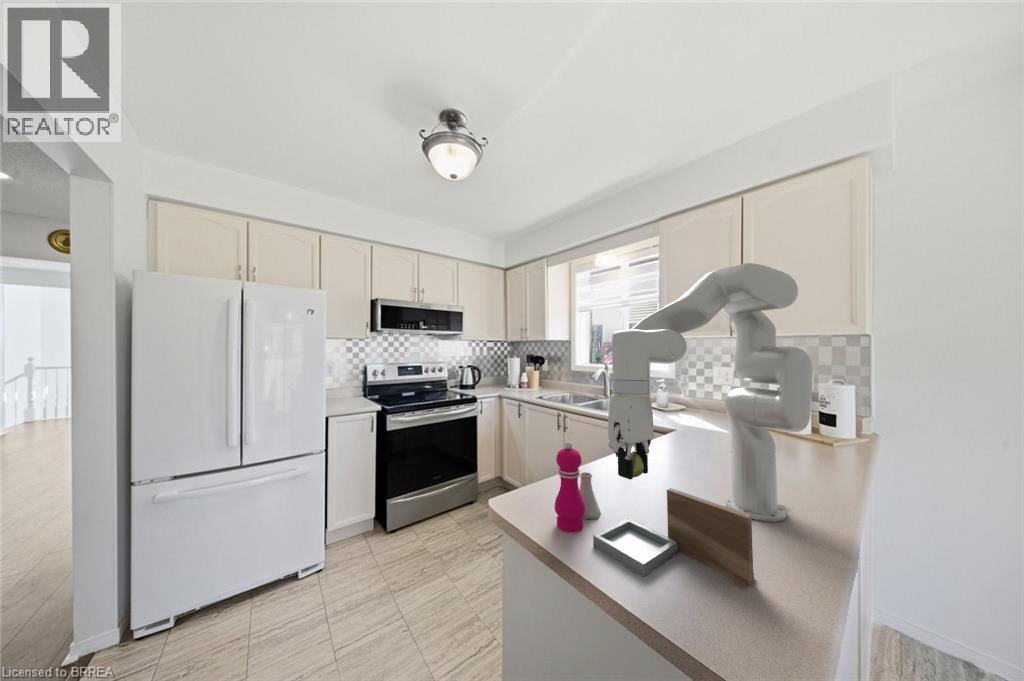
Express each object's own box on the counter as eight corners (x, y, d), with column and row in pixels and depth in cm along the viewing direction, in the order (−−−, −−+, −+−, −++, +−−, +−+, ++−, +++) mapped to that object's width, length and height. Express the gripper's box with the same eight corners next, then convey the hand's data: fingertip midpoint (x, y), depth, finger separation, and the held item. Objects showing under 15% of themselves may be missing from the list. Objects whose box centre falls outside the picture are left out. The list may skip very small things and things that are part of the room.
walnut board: (676, 541, 73) (675, 486, 73) (757, 579, 60) (755, 512, 61) (663, 549, 70) (662, 491, 70) (746, 591, 58) (743, 521, 58)
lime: (636, 482, 67) (635, 457, 67) (616, 475, 71) (616, 451, 71) (649, 477, 69) (649, 453, 70) (630, 470, 73) (629, 448, 74)
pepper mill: (578, 537, 75) (577, 448, 75) (549, 528, 79) (548, 443, 79) (589, 523, 81) (587, 440, 81) (562, 515, 85) (560, 436, 85)
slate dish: (627, 528, 78) (627, 518, 78) (678, 553, 68) (677, 541, 68) (593, 546, 71) (593, 535, 71) (643, 577, 61) (643, 564, 61)
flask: (601, 521, 82) (601, 480, 82) (572, 518, 83) (571, 478, 83) (600, 507, 89) (599, 470, 89) (572, 505, 90) (571, 468, 90)
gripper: (639, 383, 79) (640, 461, 78) (590, 389, 69) (592, 478, 68) (669, 386, 73) (671, 470, 72) (621, 392, 63) (623, 490, 62)
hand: (633, 473), depth 70 cm, fingers closed on lime, 4 cm apart
